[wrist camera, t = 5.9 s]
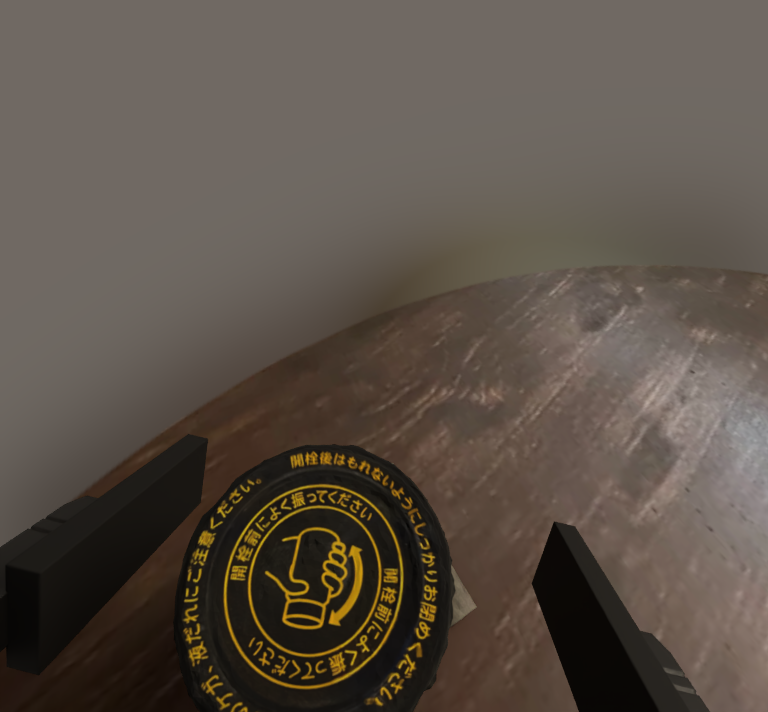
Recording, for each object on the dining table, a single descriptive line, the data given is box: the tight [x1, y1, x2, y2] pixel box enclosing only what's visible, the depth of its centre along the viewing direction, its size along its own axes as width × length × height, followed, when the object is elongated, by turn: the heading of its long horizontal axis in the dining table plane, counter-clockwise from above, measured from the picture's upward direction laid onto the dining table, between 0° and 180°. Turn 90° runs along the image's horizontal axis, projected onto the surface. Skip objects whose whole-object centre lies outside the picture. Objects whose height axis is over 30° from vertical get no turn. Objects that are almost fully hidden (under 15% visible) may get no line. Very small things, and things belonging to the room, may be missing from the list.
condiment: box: [173, 444, 476, 712], centre depth 12 cm, size 7×8×12 cm
